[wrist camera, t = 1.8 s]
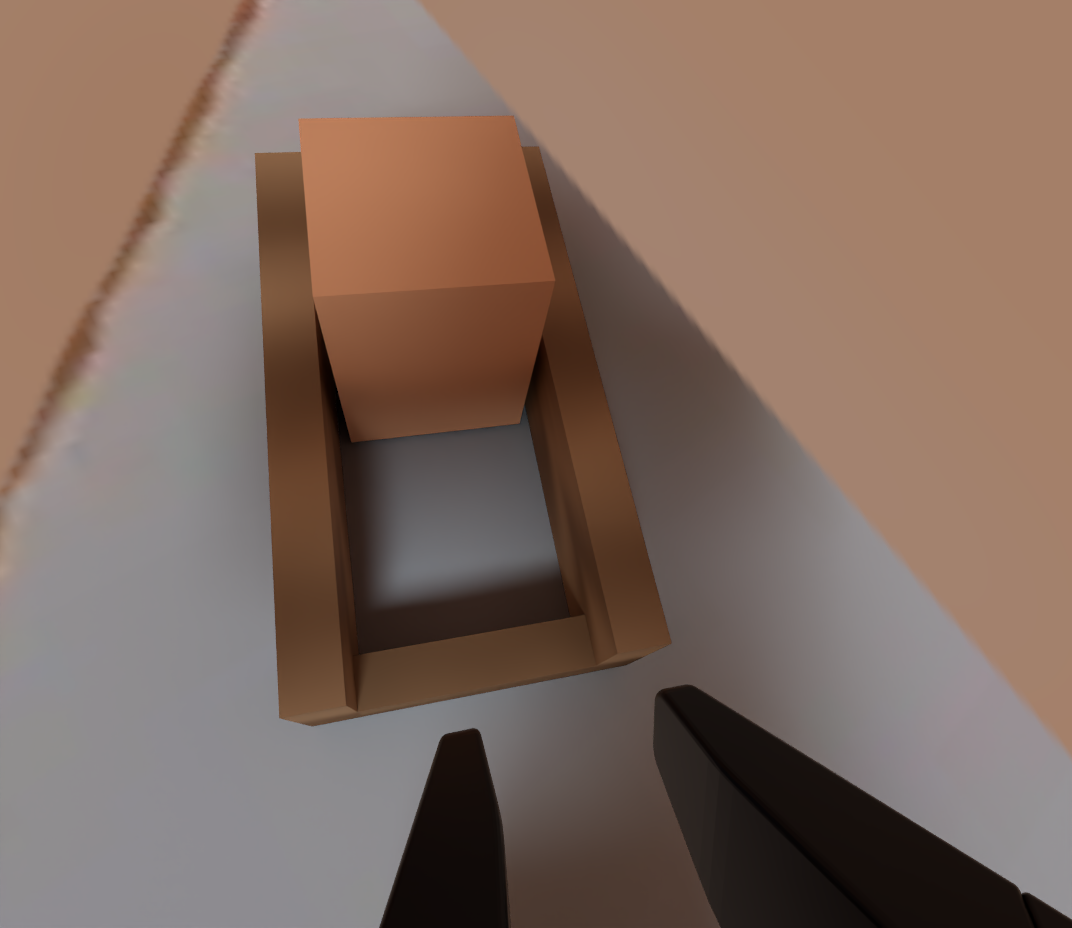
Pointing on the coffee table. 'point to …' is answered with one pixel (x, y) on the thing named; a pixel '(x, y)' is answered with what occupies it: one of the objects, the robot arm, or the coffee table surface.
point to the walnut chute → (321, 522)
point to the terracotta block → (425, 269)
